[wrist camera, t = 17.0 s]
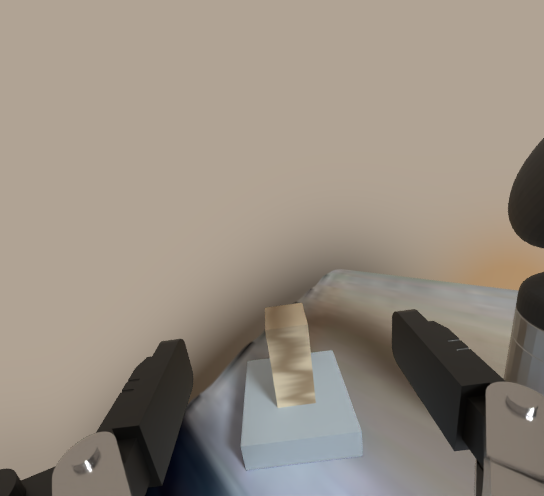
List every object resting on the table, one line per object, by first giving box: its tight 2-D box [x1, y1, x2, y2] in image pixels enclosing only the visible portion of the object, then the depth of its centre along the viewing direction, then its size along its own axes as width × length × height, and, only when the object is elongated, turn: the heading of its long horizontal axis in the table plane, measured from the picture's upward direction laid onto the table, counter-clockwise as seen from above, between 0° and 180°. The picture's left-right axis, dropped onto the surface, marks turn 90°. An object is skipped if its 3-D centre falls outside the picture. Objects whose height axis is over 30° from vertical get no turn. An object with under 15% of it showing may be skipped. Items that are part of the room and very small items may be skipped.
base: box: [241, 350, 363, 470], centre depth 39 cm, size 14×14×4 cm
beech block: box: [265, 303, 316, 408], centre depth 36 cm, size 5×5×12 cm
